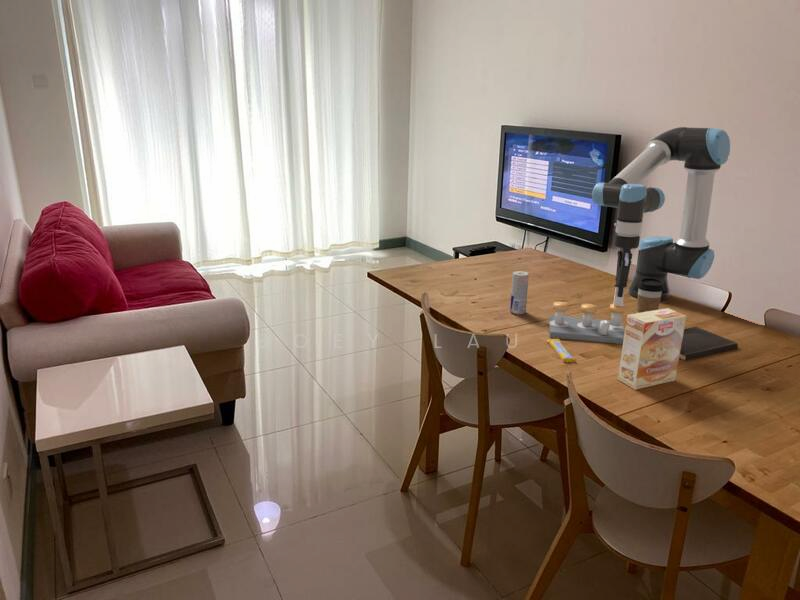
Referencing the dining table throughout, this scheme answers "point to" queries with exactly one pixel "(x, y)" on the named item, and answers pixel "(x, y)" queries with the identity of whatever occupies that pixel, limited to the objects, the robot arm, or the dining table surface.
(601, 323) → the pot dial
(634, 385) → the coffeecake box
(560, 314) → the knob far
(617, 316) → the knob near
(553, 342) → the candy bar
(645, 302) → the coffee cup
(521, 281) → the beverage can
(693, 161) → the robot arm
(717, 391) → the dining table surface
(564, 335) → the mount board
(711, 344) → the hardcover book
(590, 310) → the knob middle
